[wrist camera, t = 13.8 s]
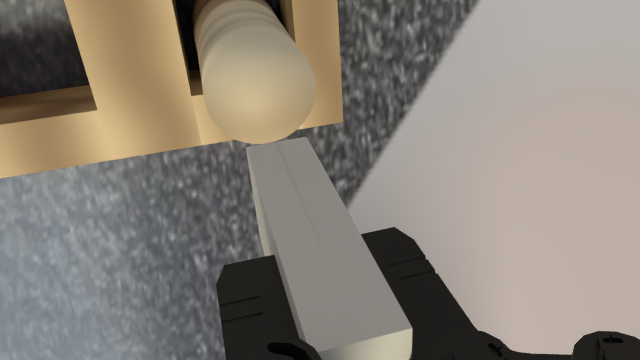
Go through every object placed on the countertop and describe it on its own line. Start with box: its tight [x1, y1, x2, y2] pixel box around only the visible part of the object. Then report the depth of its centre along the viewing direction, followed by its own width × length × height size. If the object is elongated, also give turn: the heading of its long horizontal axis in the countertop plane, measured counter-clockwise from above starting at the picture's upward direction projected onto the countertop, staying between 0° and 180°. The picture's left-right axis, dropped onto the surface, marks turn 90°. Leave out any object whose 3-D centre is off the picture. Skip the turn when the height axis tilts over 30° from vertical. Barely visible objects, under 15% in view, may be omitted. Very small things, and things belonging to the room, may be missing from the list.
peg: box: [192, 0, 316, 144], centre depth 24 cm, size 4×4×12 cm
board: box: [0, 0, 343, 178], centre depth 26 cm, size 20×11×4 cm, turn 94°
